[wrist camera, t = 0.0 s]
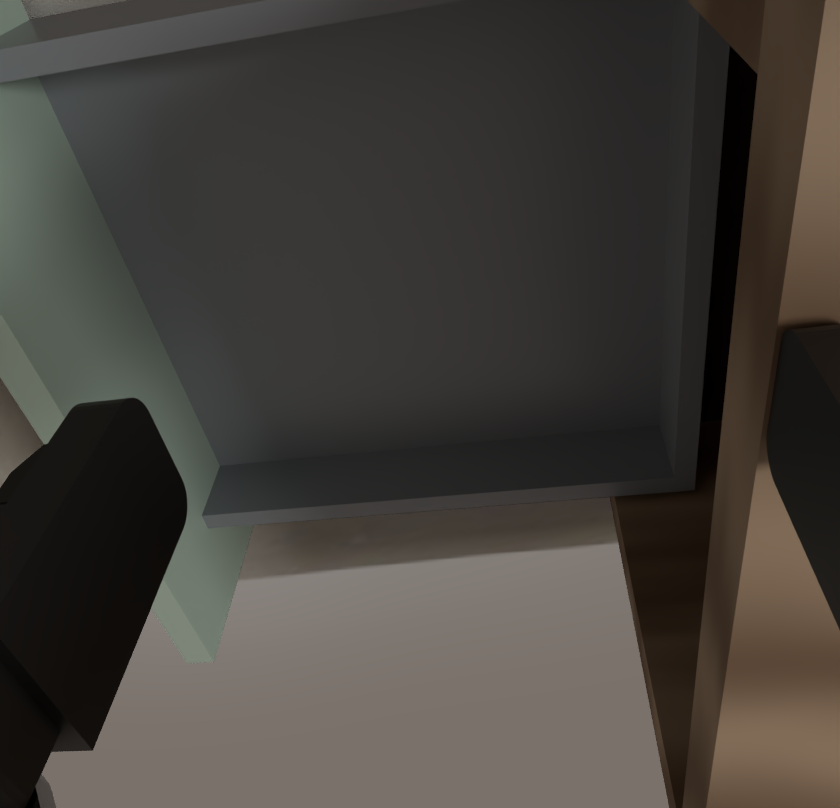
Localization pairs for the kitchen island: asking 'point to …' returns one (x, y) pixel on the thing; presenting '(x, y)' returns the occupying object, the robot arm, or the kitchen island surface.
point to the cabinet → (751, 469)
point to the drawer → (363, 252)
